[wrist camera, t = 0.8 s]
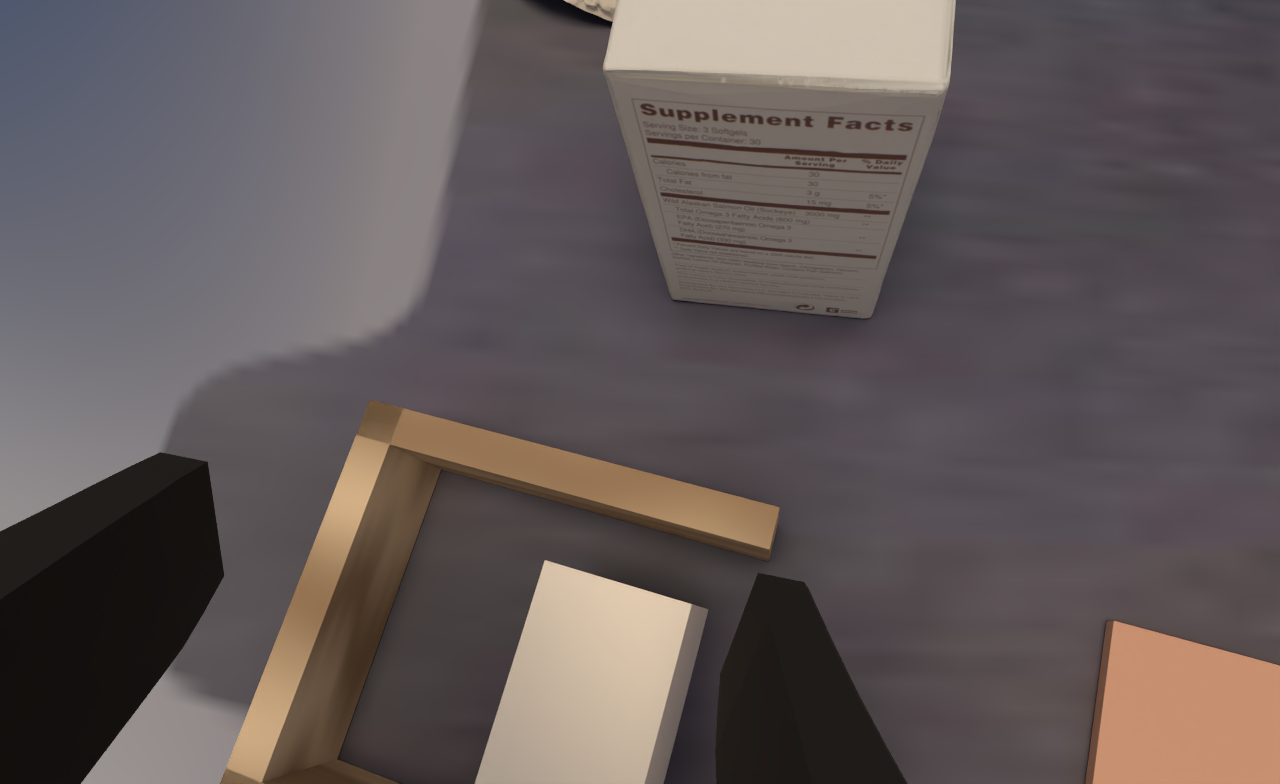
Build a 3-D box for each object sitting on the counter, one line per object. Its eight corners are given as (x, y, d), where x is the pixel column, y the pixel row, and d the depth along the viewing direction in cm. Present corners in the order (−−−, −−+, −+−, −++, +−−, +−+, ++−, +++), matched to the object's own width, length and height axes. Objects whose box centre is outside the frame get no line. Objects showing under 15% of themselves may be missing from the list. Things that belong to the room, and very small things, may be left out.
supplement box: (697, 133, 30) (652, -193, 18) (892, 145, 29) (984, -200, 17) (664, 305, 28) (590, 67, 16) (872, 328, 27) (960, 85, 15)
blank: (658, 804, 23) (623, 862, 18) (537, 761, 24) (468, 802, 19) (708, 609, 25) (691, 604, 19) (593, 575, 26) (545, 560, 20)
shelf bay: (676, 940, 22) (658, 1005, 18) (292, 785, 25) (208, 812, 21) (777, 525, 25) (780, 507, 21) (423, 430, 28) (370, 399, 24)
